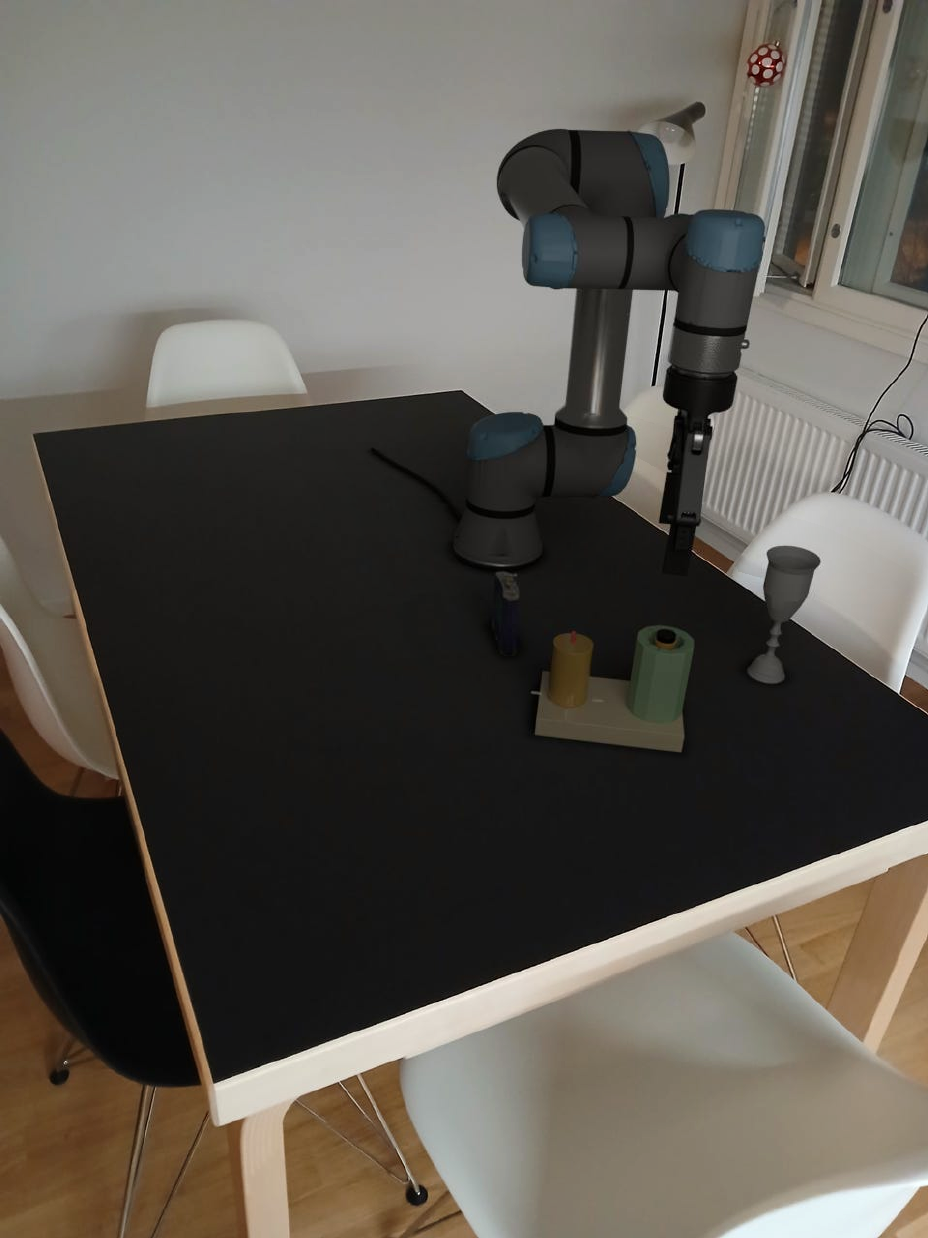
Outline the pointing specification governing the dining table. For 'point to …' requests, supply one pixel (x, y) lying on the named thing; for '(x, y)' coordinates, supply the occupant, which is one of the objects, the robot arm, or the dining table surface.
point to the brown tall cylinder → (665, 639)
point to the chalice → (783, 601)
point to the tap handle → (570, 669)
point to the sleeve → (659, 676)
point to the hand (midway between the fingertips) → (672, 547)
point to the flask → (506, 612)
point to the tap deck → (605, 719)
